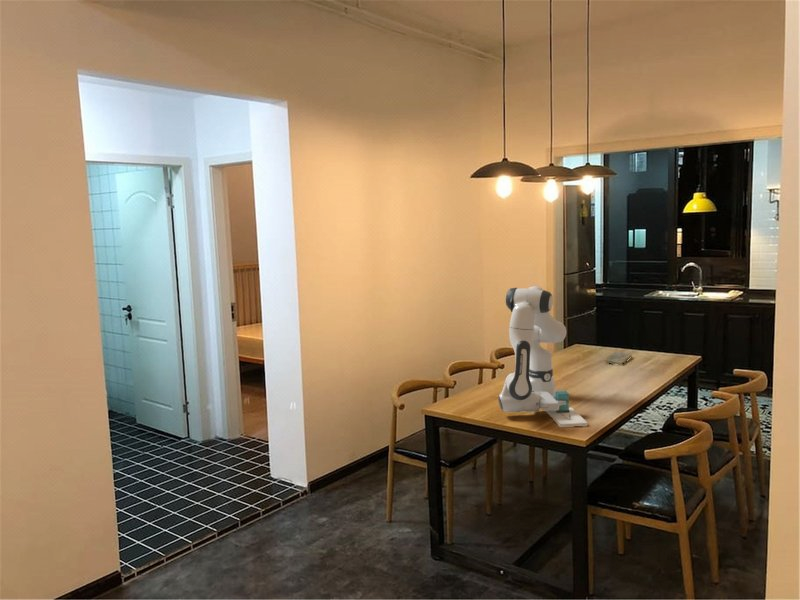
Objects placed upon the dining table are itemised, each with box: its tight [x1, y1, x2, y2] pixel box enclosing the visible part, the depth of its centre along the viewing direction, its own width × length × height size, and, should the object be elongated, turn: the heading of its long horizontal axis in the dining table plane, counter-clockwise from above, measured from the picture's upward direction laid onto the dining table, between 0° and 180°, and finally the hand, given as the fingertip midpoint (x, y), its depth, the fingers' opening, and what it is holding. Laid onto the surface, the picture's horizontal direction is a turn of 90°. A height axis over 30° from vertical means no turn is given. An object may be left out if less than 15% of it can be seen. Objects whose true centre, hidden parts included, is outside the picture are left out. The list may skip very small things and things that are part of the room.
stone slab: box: [604, 351, 632, 366], centre depth 405 cm, size 12×4×30 cm
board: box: [545, 407, 589, 428], centre depth 288 cm, size 24×12×2 cm, turn 1°
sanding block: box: [555, 390, 570, 413], centre depth 294 cm, size 5×5×9 cm
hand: (563, 400), depth 294 cm, fingers closed on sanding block, 5 cm apart
